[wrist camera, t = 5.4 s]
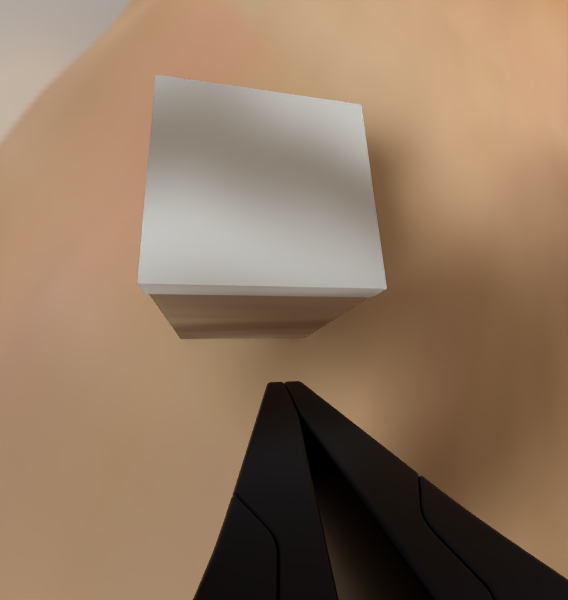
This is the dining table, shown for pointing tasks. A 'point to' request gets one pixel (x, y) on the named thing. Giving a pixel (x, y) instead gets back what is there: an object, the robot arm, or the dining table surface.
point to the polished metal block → (256, 211)
